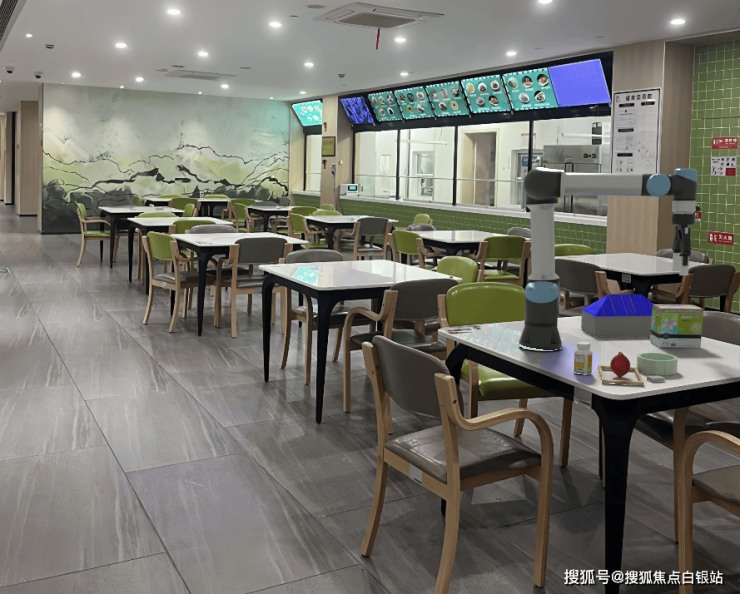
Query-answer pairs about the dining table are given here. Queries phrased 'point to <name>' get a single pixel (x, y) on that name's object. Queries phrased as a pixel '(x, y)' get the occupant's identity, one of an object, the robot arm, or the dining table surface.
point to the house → (618, 316)
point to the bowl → (657, 363)
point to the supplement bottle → (583, 358)
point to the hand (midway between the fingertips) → (679, 273)
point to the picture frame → (639, 382)
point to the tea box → (676, 326)
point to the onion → (620, 365)
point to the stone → (655, 378)
